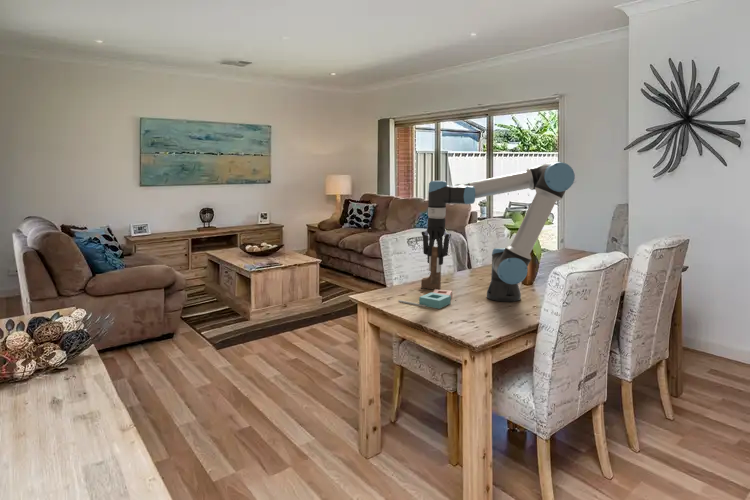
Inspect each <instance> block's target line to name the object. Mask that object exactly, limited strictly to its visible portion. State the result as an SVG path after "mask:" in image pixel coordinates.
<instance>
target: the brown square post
mask: <svg viewBox="0 0 750 500" xmlns="http://www.w3.org/2000/svg"><path fill="white" fill-rule="evenodd" d="M438 256H439V255H438V246H436V245H434V246H432V258H431V271H430V273H431V284H438V273H439V272H438V273H437V272H436V271H437V257H438Z"/></svg>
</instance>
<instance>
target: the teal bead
mask: <svg viewBox="0 0 750 500" xmlns="http://www.w3.org/2000/svg"><path fill="white" fill-rule="evenodd" d="M418 300H419V302H418V304H422V305H426V307H428V308H434V309H442V308H444V307H446V306H448V305H451V302H452V301H451V300H452V298H451V296H449V295H443V294H437V293H433V292H428V293H427V294H424V295H420V296H419V299H418Z"/></svg>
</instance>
